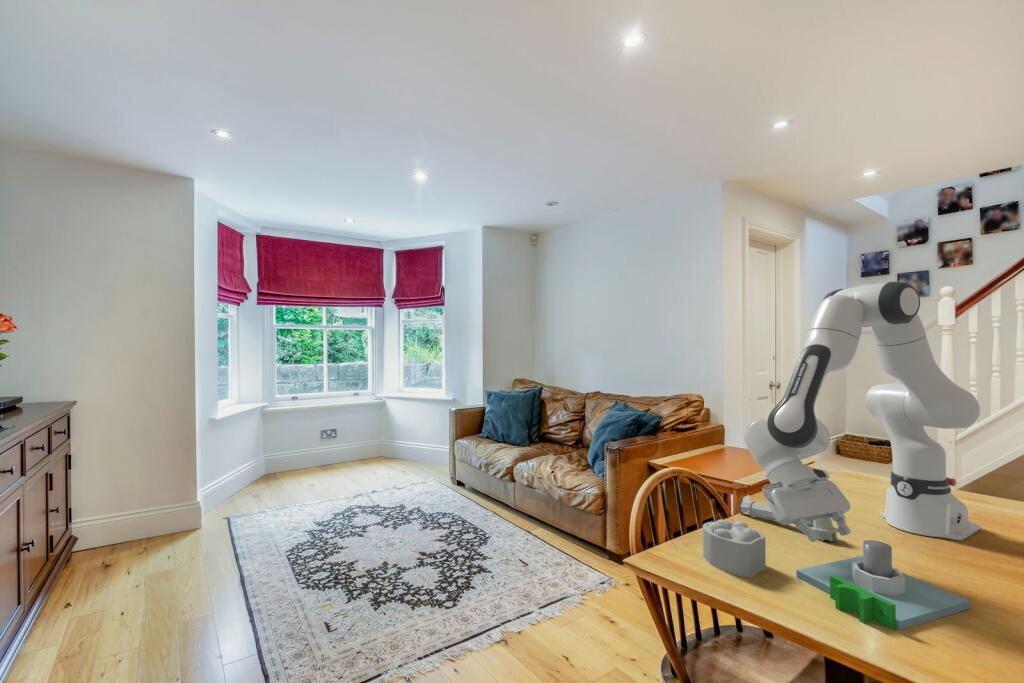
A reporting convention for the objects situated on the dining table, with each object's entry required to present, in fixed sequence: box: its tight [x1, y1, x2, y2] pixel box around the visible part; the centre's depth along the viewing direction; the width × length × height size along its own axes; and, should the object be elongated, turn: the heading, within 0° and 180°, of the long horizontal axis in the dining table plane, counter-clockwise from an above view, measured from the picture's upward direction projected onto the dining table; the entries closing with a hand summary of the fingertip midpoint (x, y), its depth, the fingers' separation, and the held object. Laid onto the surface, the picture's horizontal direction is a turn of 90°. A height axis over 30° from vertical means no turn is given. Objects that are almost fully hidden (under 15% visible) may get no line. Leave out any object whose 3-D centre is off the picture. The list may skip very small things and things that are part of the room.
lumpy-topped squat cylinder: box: [702, 518, 767, 578], centre depth 109 cm, size 10×13×9 cm
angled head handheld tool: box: [737, 500, 839, 542], centre depth 129 cm, size 5×7×25 cm
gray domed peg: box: [862, 539, 893, 578], centre depth 95 cm, size 5×5×8 cm
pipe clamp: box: [829, 575, 897, 631], centre depth 88 cm, size 11×4×5 cm, turn 19°
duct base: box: [796, 555, 971, 631], centre depth 95 cm, size 20×20×4 cm
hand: (831, 537), depth 104 cm, fingers open, 8 cm apart
